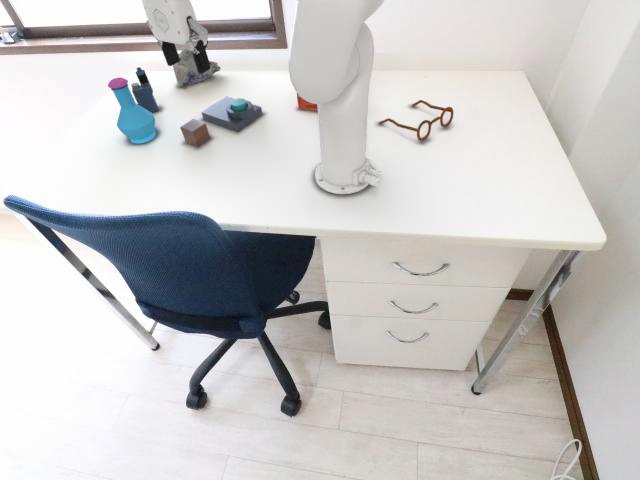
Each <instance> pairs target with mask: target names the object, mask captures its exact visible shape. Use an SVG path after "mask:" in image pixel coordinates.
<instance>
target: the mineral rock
mask: <svg viewBox="0 0 640 480" xmlns="http://www.w3.org/2000/svg"><path fill="white" fill-rule="evenodd" d="M192 54H194V52H193V51H192V49H188V48H184V49H182V50H181V51H180V53H178V55H179V58H180V61H179V62H178V63H176V64H174V65H172V69H173V72H174V76H175V80H176V82H177V85H178V87H181V88H182V87H185V86H190V85H192V84H196V83H200V82H202V81H204V80H208V79H210V78H211V76H214V74H215V73H218V72H220V71H221V68H222V67H221V66H219V62H216V61H213V60H212V61H211V60H209V63H210V67H211V68H210V69H209V70H207V71H206V72H204V73H202V74H200V73H198V71H197V67H196V64H195V61H194V58H193V55H192Z"/></svg>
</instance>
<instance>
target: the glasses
mask: <svg viewBox="0 0 640 480" xmlns="http://www.w3.org/2000/svg"><path fill="white" fill-rule="evenodd" d="M419 104H423V105H425V106H427V107H428V108H430V109H432V110H433V109H434V110H438V111H442V112H441V113H440V116H437V117H435V118H433V119H432V120H428V119H424V120H423V121H421V122H420V123H419V125H418V126H417V128H416V127H412V126H409V125H405V124H402V123H398V122H397V121H395V119H392V118H390V117H388V118H386V119H384V120H383V119H382V120H380V121H379V125H382V124H384V123H387V122H390V123H391V124H393V125H395V126H396V127H399V128H400V129H401V128H402V129H405V130H408V131H412V132H416V138H417V139H418V140H419V141H421V142H423V141H425V140H427V139H428V138H429V136H430V134H431V130H432V125H433V124H434V123H435V122H437V121H439V123H440V126H441V127H442V128H447V127H448V126H449V125H450V124H451V123H452V121H453V119H454V108H453V107H452V106H447V107H443V106H437V105H433V104H430V103H429V102H428V101H424V100H422V99H419V100H418V101H415V102H414V103H412V104H411V107H412V108H413V107H416V106H418V105H419ZM446 112H447V113H450V117H449V120H448V121H447V122H446V123H445V124H444V116H445V114H446ZM425 124H427V125H428V129H427V133H426V134H425V136H423V137H421V129H422V127H423V125H425Z"/></svg>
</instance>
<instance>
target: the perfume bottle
mask: <svg viewBox="0 0 640 480" xmlns="http://www.w3.org/2000/svg"><path fill="white" fill-rule="evenodd" d="M107 87H108V88H110V90H111V91H112V92H113V94H114V96H115V98H116V100H117V102H118V104H119V106H120V110H119V113H118V117H117V122H116V126H117V128H118V130H119V131H120V132H121V133H122V134H123V135H124V136H125V137H126V138H128V139H129V140H130V142H131V143H133V144H144V143H147V142H150V141H152V140H153V139H154V138H155V137H156V135H157V133H156V119H155V115H154V113H153V112H152V113H151V112H149V111H148V110H146V109H144V108H143V107H141V106H140V105H138V103H137V102H136V100H135V98H134V95H132V94H133V93H132V92H131V90H130V88H129V79H126V78H124V77H115V78H112V79H111V80H109V82H108V83H107Z"/></svg>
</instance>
